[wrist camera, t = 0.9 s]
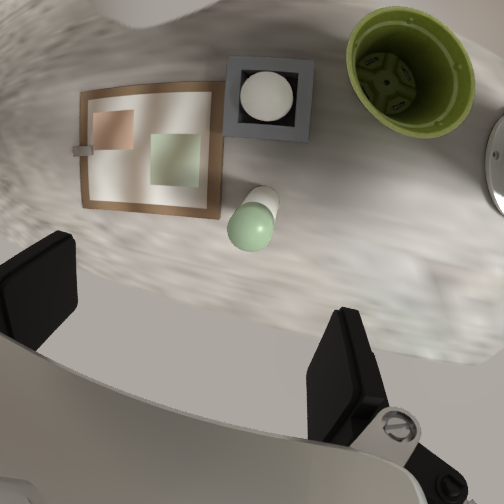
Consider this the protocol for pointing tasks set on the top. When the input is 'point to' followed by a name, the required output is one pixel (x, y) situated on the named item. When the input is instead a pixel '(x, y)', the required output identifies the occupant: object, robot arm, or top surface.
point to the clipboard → (153, 148)
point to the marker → (254, 220)
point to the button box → (286, 68)
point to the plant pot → (411, 72)
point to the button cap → (266, 96)
